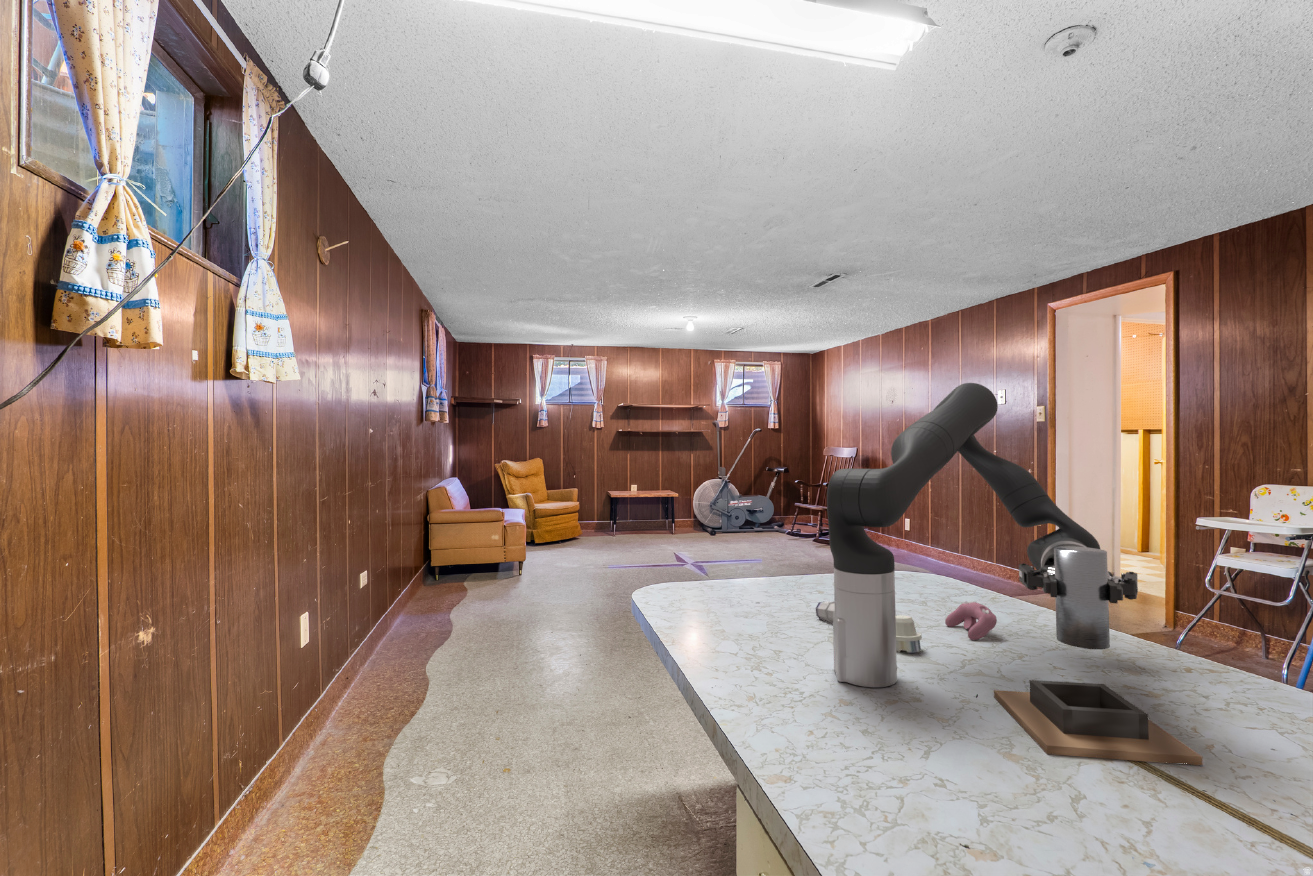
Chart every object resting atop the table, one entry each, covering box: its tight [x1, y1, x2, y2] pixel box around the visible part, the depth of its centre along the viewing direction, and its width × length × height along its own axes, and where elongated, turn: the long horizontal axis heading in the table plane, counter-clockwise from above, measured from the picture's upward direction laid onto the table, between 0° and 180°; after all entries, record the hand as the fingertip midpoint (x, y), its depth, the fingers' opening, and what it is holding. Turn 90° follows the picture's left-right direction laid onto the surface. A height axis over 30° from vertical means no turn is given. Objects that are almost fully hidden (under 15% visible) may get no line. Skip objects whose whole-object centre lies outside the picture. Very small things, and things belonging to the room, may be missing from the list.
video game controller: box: [944, 600, 998, 641], centre depth 114 cm, size 10×5×7 cm, turn 1°
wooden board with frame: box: [993, 679, 1204, 766], centre depth 75 cm, size 16×16×4 cm
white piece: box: [815, 601, 923, 653], centre depth 113 cm, size 5×7×25 cm
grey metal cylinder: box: [1054, 546, 1111, 650], centre depth 75 cm, size 6×6×12 cm
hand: (1083, 592), depth 73 cm, fingers closed on grey metal cylinder, 5 cm apart
